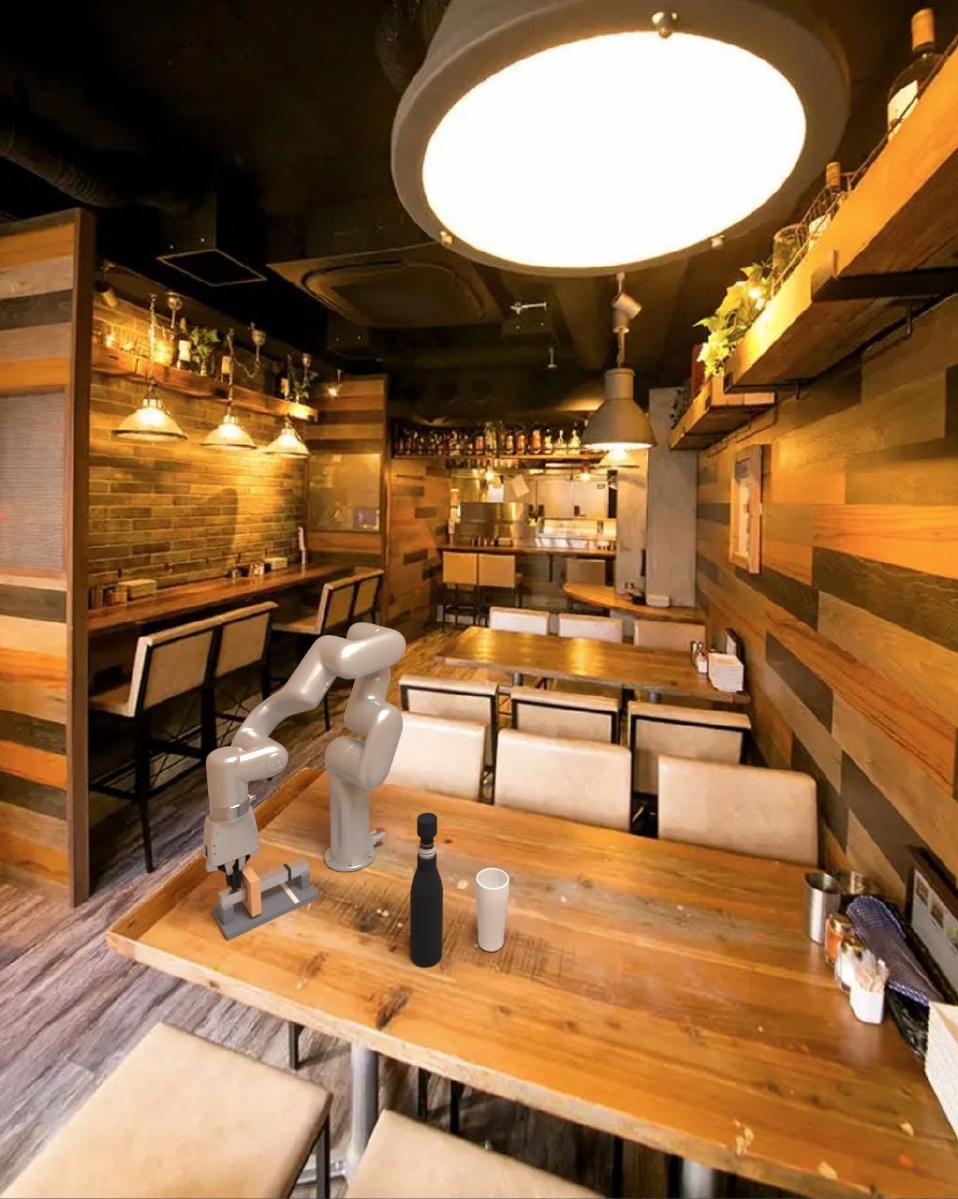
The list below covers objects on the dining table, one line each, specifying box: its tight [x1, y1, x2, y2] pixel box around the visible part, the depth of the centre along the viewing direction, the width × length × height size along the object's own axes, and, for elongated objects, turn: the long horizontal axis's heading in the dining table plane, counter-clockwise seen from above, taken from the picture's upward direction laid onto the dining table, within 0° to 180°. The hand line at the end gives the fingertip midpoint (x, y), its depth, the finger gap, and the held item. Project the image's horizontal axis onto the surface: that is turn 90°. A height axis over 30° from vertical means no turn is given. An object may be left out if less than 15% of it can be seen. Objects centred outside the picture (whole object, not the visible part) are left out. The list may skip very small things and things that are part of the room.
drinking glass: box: [475, 867, 510, 953], centre depth 117 cm, size 7×7×15 cm
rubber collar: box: [241, 861, 262, 917], centre depth 124 cm, size 2×8×8 cm, turn 41°
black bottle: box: [409, 812, 444, 969], centre depth 112 cm, size 6×6×30 cm
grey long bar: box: [217, 856, 310, 909], centre depth 127 cm, size 19×3×3 cm, turn 131°
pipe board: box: [211, 871, 320, 941], centre depth 127 cm, size 20×10×5 cm, turn 131°
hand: (234, 886), depth 122 cm, fingers closed
